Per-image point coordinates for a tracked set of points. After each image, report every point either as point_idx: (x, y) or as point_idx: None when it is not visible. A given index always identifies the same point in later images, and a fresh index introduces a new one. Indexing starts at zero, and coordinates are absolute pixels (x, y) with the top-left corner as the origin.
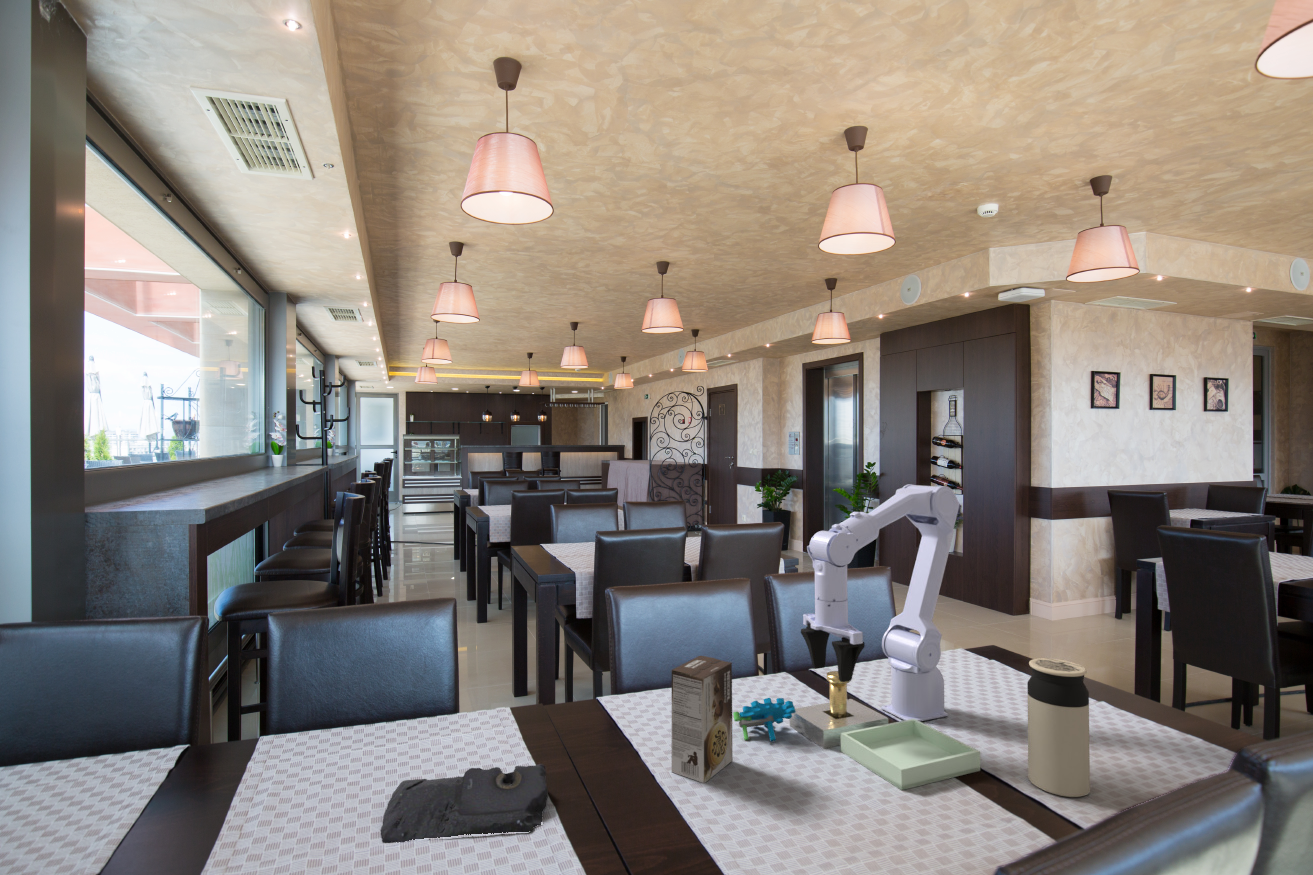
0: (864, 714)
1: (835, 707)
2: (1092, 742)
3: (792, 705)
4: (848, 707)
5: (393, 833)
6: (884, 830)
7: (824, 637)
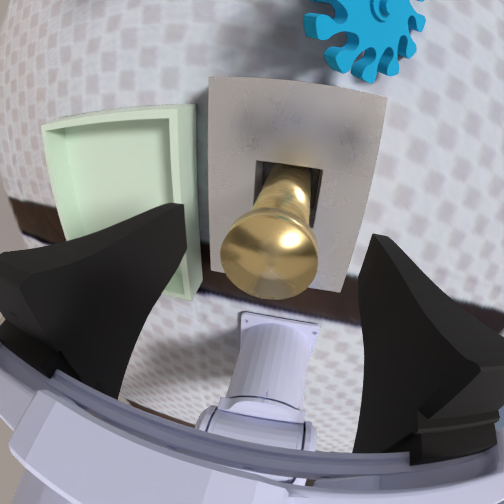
0: None
1: (270, 183)
2: (141, 375)
3: (304, 29)
4: None
5: None
6: (22, 46)
7: (370, 407)
